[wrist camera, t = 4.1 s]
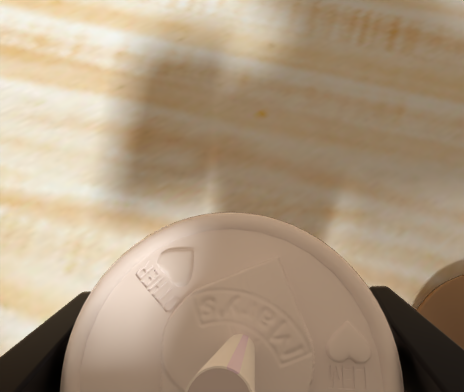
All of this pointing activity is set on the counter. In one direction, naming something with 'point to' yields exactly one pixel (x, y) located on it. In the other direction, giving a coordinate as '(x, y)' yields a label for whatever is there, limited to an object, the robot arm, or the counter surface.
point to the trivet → (447, 309)
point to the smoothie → (231, 316)
